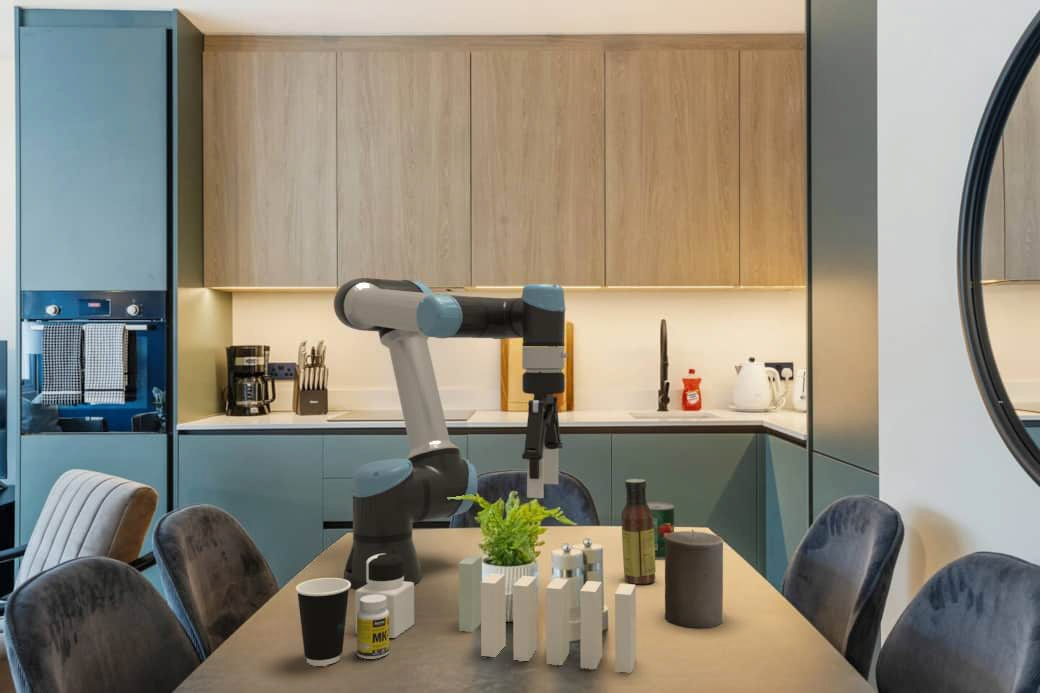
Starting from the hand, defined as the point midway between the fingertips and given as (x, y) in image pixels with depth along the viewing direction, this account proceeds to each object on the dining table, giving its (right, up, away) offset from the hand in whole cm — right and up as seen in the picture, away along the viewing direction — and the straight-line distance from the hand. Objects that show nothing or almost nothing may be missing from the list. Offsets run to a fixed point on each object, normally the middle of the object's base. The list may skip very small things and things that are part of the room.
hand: (543, 490), depth 138 cm
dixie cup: (-33, -21, -24) cm, 46 cm away
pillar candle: (+25, -20, -7) cm, 33 cm away
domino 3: (+1, -20, -24) cm, 31 cm away
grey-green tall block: (-12, -20, -10) cm, 26 cm away
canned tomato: (+26, -21, +34) cm, 48 cm away
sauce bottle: (+19, -21, +15) cm, 32 cm away
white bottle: (-26, -21, -11) cm, 35 cm away
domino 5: (+11, -20, -27) cm, 35 cm away
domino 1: (-8, -20, -21) cm, 30 cm away
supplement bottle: (-26, -21, -22) cm, 40 cm away
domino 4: (+6, -20, -25) cm, 33 cm away
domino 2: (-3, -20, -22) cm, 30 cm away
